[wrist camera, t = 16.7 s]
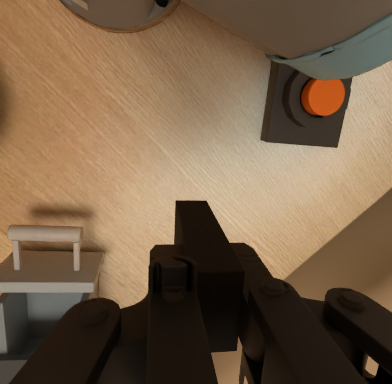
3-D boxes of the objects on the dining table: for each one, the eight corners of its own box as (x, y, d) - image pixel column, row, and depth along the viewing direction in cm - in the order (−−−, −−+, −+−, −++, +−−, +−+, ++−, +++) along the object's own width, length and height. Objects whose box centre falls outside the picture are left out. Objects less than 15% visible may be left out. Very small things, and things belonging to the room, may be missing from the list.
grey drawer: (10, 210, 34) (-23, 234, 28) (104, 214, 36) (93, 238, 29) (20, 337, 39) (-6, 383, 32) (103, 335, 41) (93, 379, 34)
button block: (274, 42, 34) (289, 34, 30) (346, 51, 35) (370, 45, 31) (260, 140, 37) (272, 144, 33) (327, 145, 38) (346, 149, 34)
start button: (304, 74, 32) (312, 72, 30) (339, 78, 32) (349, 77, 31) (297, 113, 33) (305, 113, 31) (331, 116, 33) (340, 117, 32)
